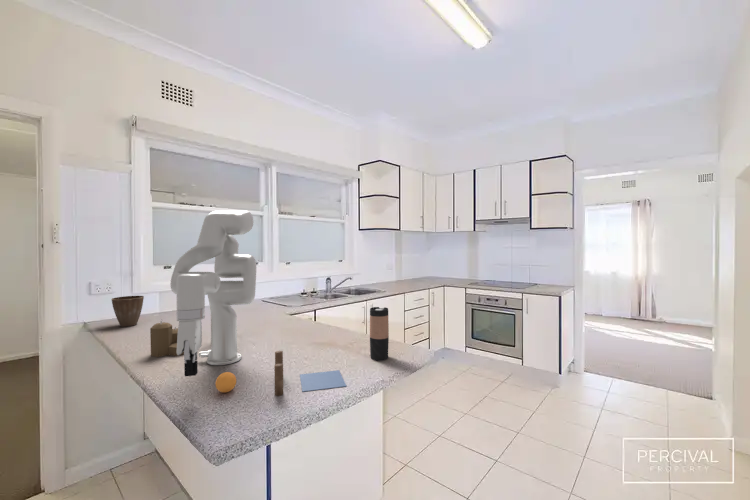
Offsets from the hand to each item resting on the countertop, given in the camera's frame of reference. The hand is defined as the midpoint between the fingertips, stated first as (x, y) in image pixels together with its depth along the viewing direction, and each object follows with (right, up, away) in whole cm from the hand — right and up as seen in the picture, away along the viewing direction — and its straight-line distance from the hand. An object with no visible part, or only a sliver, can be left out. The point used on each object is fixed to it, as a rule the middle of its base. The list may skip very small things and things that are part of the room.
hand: (191, 374), depth 101 cm
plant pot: (-85, -5, +90) cm, 124 cm away
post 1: (+23, -6, +14) cm, 28 cm away
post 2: (+26, -7, +2) cm, 27 cm away
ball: (+9, -4, +4) cm, 10 cm away
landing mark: (+38, -6, +12) cm, 40 cm away
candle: (-32, -6, +42) cm, 53 cm away
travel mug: (+58, -6, +34) cm, 67 cm away
